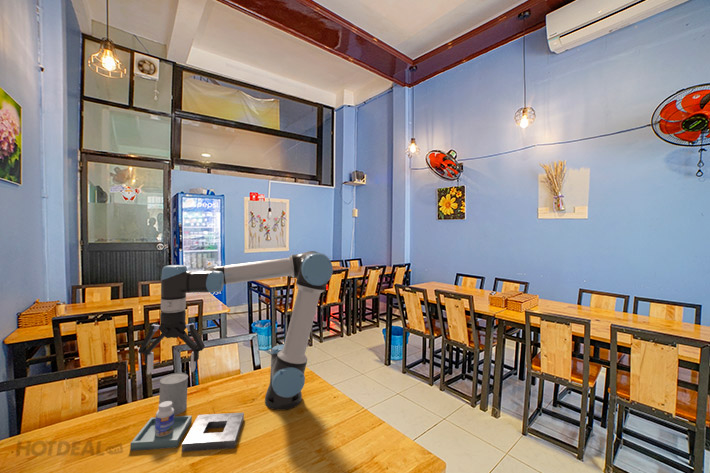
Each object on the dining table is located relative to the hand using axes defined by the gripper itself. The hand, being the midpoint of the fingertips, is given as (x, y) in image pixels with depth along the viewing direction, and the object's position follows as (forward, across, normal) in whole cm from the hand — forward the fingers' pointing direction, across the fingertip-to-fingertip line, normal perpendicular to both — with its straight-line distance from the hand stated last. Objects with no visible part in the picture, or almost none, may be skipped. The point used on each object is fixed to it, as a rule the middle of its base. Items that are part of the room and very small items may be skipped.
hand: (171, 371), depth 107 cm
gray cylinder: (+21, -5, +15) cm, 26 cm away
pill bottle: (+20, -2, -1) cm, 20 cm away
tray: (+21, -2, -1) cm, 21 cm away
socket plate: (+22, +15, -2) cm, 26 cm away
